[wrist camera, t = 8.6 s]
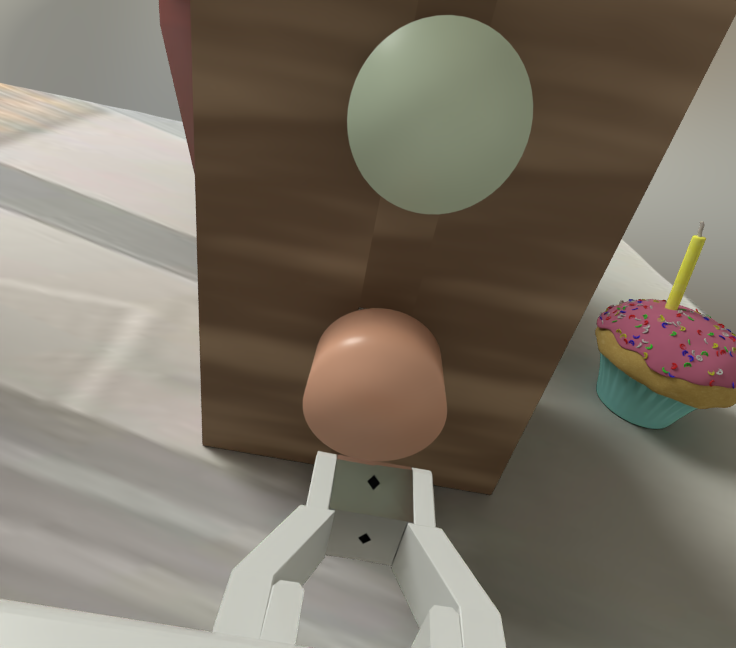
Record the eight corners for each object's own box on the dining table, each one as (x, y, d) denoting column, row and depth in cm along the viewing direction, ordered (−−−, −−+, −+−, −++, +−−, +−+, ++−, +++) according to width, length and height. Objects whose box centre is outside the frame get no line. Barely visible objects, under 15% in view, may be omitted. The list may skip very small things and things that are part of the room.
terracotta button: (426, 471, 15) (465, 368, 13) (296, 448, 15) (310, 340, 13) (421, 358, 21) (447, 271, 18) (324, 340, 20) (337, 250, 18)
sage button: (497, 228, 12) (564, 38, 10) (335, 197, 12) (363, -6, 10) (469, 169, 18) (508, 36, 15) (356, 147, 17) (377, 8, 15)
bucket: (140, 307, 30) (77, -281, 16) (176, 192, 47) (159, -137, 34) (475, 315, 37) (622, -93, 24) (398, 213, 54) (457, -54, 41)
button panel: (491, 495, 22) (1212, -922, 6) (202, 445, 22) (154, -1257, 6) (468, 377, 30) (763, -392, 14) (254, 338, 29) (298, -511, 13)
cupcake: (545, 385, 31) (632, 213, 24) (602, 350, 36) (686, 201, 29) (677, 476, 26) (832, 290, 19) (721, 421, 31) (854, 259, 24)
